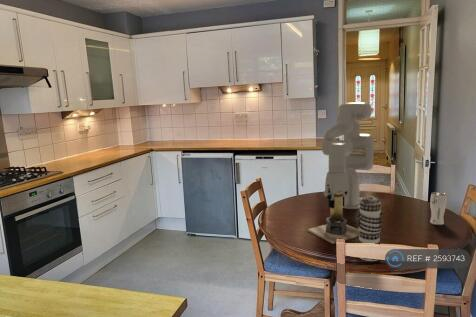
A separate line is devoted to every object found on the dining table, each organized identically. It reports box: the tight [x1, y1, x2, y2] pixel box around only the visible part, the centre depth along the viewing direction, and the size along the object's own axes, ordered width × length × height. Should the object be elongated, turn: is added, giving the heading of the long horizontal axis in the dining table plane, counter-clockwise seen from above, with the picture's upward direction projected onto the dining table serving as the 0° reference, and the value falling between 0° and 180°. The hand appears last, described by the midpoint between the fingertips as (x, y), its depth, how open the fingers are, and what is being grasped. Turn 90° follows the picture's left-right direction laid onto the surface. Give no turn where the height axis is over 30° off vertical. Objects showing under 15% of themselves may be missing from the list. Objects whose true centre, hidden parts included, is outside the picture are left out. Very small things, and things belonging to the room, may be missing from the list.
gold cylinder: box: [329, 191, 344, 222], centre depth 171 cm, size 6×6×14 cm
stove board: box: [307, 221, 360, 245], centre depth 173 cm, size 20×18×1 cm
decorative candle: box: [357, 195, 383, 262], centre depth 146 cm, size 9×9×25 cm
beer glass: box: [429, 191, 447, 226], centre depth 179 cm, size 7×7×15 cm
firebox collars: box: [325, 216, 348, 235], centre depth 173 cm, size 9×9×6 cm
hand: (336, 206), depth 171 cm, fingers closed on gold cylinder, 5 cm apart
